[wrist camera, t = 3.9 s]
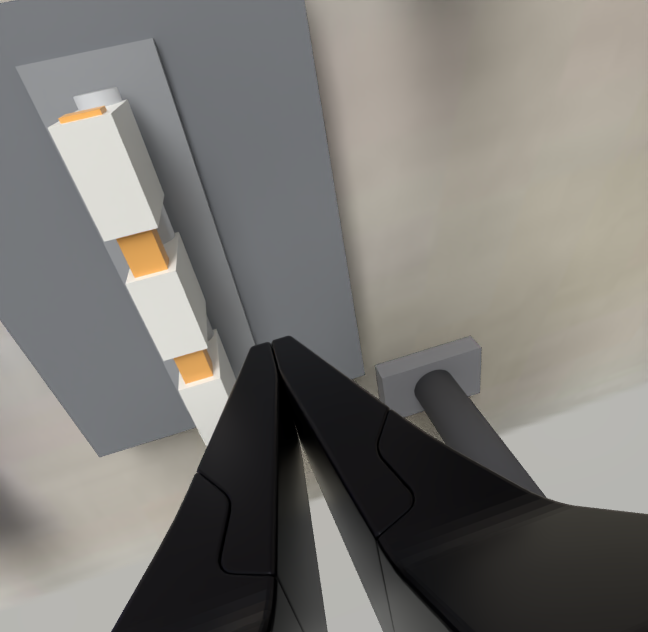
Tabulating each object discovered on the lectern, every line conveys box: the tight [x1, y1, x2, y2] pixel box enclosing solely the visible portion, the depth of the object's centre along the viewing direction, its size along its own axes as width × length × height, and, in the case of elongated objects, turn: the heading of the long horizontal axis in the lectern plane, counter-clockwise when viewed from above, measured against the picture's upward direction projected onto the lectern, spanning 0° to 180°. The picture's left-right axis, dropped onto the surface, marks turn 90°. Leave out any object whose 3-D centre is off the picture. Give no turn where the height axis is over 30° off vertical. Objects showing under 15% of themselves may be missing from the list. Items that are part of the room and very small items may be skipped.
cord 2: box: [375, 336, 546, 498], centre depth 18 cm, size 5×3×10 cm, turn 101°
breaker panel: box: [0, 0, 365, 457], centre depth 15 cm, size 11×14×2 cm
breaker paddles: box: [48, 87, 236, 446], centre depth 12 cm, size 1×10×3 cm, turn 11°
